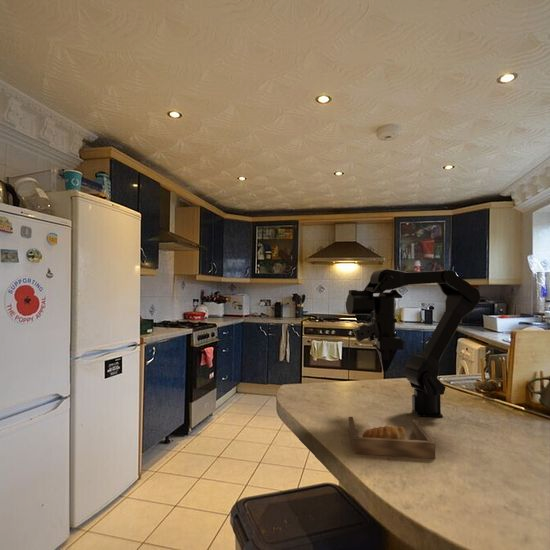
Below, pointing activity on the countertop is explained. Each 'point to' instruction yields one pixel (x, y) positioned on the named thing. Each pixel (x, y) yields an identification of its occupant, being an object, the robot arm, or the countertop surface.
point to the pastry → (385, 432)
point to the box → (394, 443)
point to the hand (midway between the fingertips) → (385, 371)
